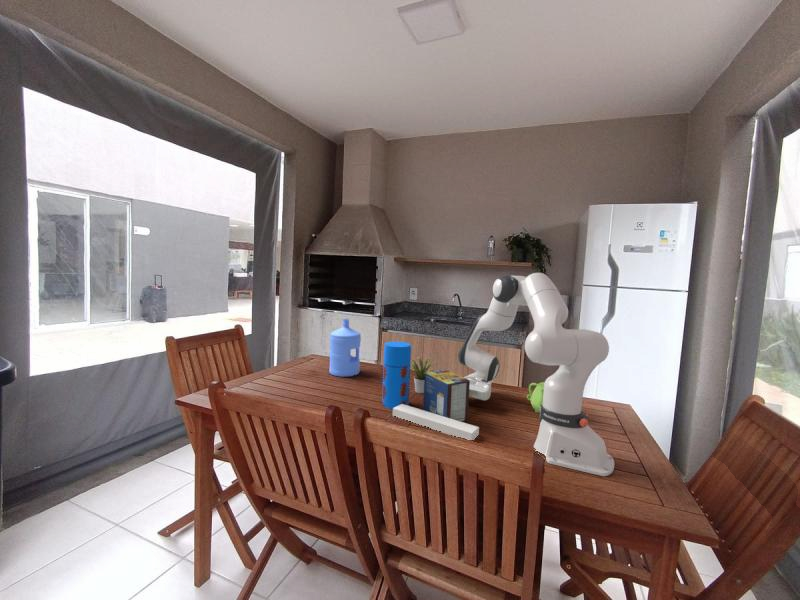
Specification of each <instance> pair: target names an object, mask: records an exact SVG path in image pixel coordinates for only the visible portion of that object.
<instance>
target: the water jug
mask: <svg viewBox="0 0 800 600" xmlns="http://www.w3.org/2000/svg"><path fill="white" fill-rule="evenodd" d="M349 324H350V319H349V318H348V319H347V318H344V319H342V327H340V328H338V329H336V330H333V331H331V332H330V336H329V337H330V338H329V342H330V343H329V345H330V347H329V374H330V375H332V376H335V377H340V378H341V377H343V378H345V377H346V378H348V377H354V375H355V376H357V375H359V373H360V371H361V368H360V367H361V366H360V363H361V362H360V361H361V360H360V348H361V341H362V340H361V339H362V337H361V333H360V332H359V331H357V330H356V329H353V328H351V327H350V325H349ZM352 350H355V356H354V355H353V356H352V355H351V351H352Z"/></svg>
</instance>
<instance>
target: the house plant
mask: <svg viewBox="0 0 800 600" xmlns="http://www.w3.org/2000/svg"><path fill="white" fill-rule="evenodd" d="M416 357H417V359H418V360H419V365H418V364H417V362H416V361H415V360H414V359H413V358H411V364H410V365H411V366H412V368H411V371H413V373H412V375H416V376H413V380H414V391H415V392H416V393H418V394H424V379H425V372H433V371H434V370H429V368H430V367H432V365H434V364H435V363H436V362H437V363H438V360H435V361H433V360H430V359H431V358H432V356H430V357H428V358H427V359H426V361H425V362H424V360H423V358H422V357H421V358H420V357H419V356H416ZM419 366H420V368H419ZM428 370H429V371H428ZM414 372H415V373H414Z"/></svg>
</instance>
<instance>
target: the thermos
mask: <svg viewBox="0 0 800 600" xmlns="http://www.w3.org/2000/svg"><path fill="white" fill-rule="evenodd" d="M411 359H412V345H411V343H408V342H404V341H388V342H385V343H384V347H383V368H382V370H383V373H382V406H383V407H384V408H386V409H388V408H389V409H390V410H393V408H394V407H396V406H399V405H401V404H404V405H408V406H409V400H410V386H411V385H410V382H411V365H412V364H411V362H412V360H411ZM389 409H388V410H389Z"/></svg>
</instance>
